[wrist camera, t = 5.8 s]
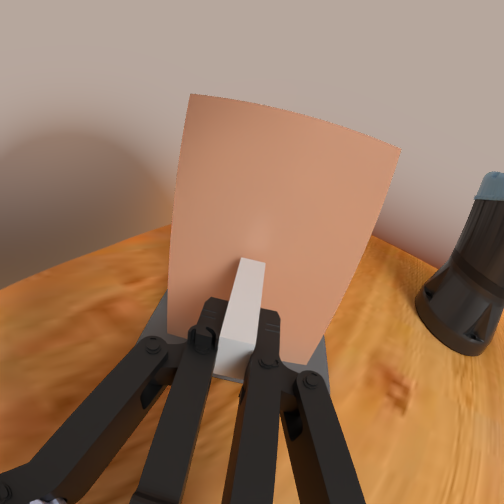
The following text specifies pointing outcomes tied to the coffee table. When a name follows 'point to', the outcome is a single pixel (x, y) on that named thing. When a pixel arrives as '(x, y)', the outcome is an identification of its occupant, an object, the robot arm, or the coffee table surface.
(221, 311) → the robot arm
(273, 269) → the tile
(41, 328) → the coffee table surface
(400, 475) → the coffee table surface
